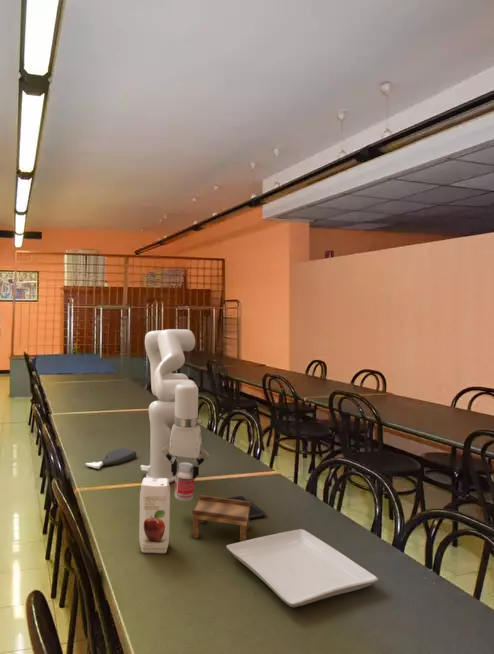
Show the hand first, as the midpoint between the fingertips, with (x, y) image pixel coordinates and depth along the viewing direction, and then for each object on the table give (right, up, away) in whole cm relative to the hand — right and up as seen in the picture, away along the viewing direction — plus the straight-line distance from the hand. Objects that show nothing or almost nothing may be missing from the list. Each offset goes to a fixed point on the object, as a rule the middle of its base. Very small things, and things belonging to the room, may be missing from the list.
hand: (184, 475), depth 148 cm
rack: (+11, -14, -10) cm, 20 cm away
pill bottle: (0, -8, +1) cm, 8 cm away
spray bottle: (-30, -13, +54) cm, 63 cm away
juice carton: (-10, -14, -19) cm, 26 cm away
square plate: (+27, -15, -31) cm, 44 cm away
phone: (+21, -14, +7) cm, 26 cm away
